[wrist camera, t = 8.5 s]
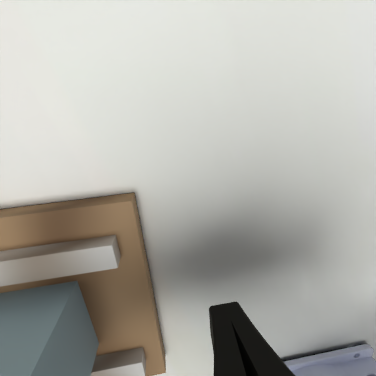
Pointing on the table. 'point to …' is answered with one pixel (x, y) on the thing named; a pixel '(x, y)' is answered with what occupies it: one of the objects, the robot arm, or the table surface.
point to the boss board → (90, 273)
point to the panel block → (46, 332)
